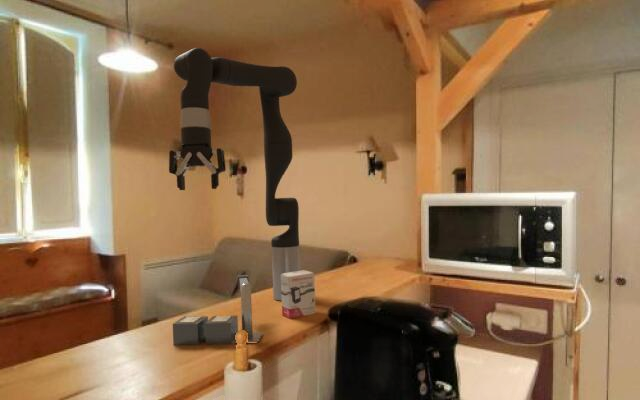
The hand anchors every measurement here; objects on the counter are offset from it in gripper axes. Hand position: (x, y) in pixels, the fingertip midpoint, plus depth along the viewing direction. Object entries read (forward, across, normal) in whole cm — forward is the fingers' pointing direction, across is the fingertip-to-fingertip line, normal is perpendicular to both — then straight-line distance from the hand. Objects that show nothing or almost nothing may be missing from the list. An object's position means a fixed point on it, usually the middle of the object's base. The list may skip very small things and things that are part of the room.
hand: (198, 189), depth 106 cm
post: (+36, +14, -10) cm, 40 cm away
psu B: (+36, 0, -10) cm, 38 cm away
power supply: (+36, +8, -10) cm, 38 cm away
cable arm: (+27, +11, -1) cm, 29 cm away
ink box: (+36, +24, +10) cm, 45 cm away
